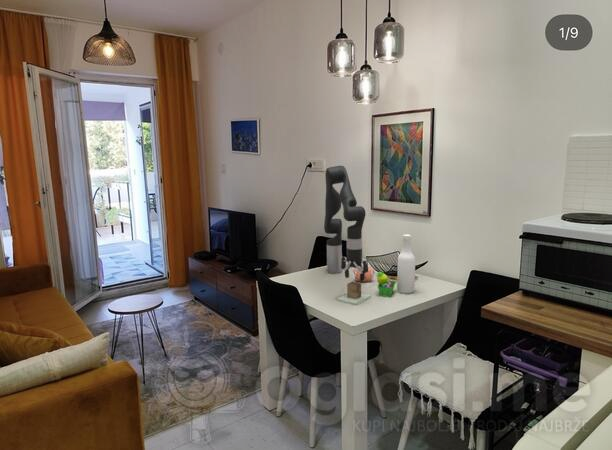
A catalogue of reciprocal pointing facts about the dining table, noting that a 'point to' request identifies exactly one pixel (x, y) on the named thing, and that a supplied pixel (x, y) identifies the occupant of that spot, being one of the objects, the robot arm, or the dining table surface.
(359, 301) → the sage board
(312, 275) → the dining table surface
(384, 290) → the fruit basket
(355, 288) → the walnut block
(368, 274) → the teapot
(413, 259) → the alcohol
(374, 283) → the dining table surface
